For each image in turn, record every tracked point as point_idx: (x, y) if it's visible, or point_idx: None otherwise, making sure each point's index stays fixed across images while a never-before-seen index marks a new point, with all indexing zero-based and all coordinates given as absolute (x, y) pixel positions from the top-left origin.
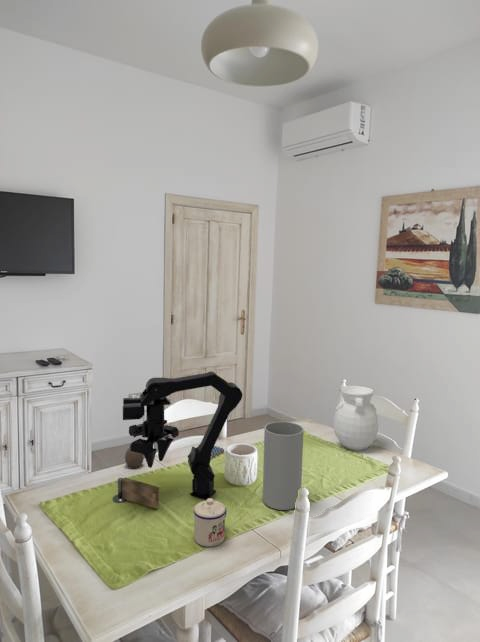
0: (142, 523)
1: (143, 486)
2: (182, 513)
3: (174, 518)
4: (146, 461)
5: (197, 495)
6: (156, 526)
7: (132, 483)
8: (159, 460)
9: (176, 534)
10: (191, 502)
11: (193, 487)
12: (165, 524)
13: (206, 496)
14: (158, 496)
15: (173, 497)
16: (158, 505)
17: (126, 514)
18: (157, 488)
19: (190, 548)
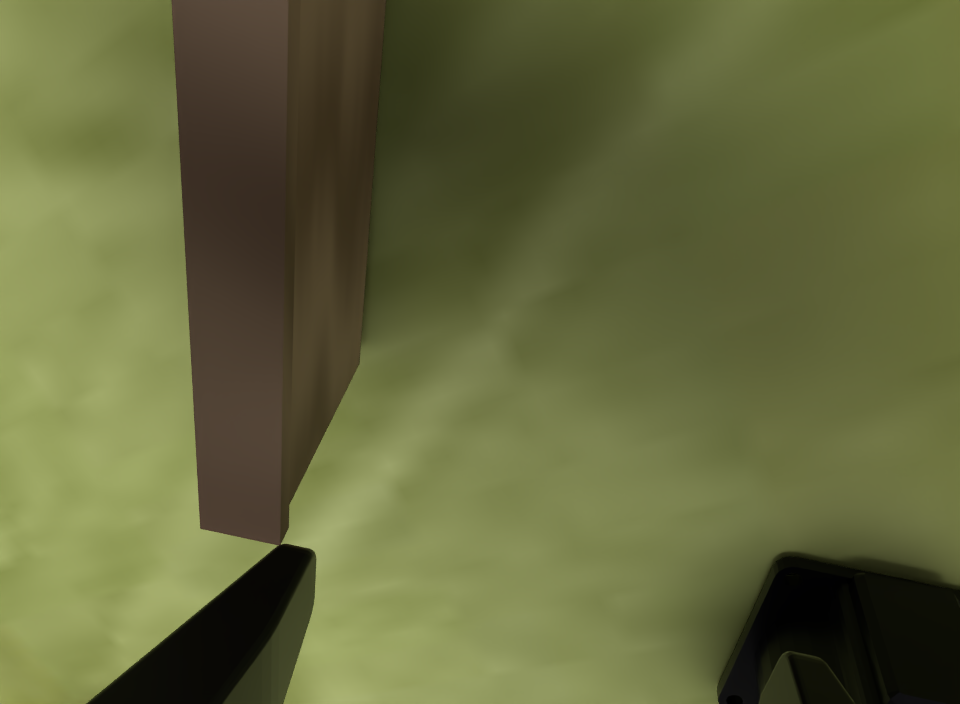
0: (49, 301)
1: (195, 309)
2: (398, 566)
3: (288, 530)
4: (143, 659)
5: (760, 629)
6: (91, 436)
7: (181, 42)
8: (780, 663)
9: (96, 599)
10: (630, 587)
11: (847, 630)
12: (162, 492)
13: (757, 698)
14: (313, 446)
15: (689, 403)
16: (350, 373)
17: (76, 32)
18: (238, 534)
19: (24, 700)
